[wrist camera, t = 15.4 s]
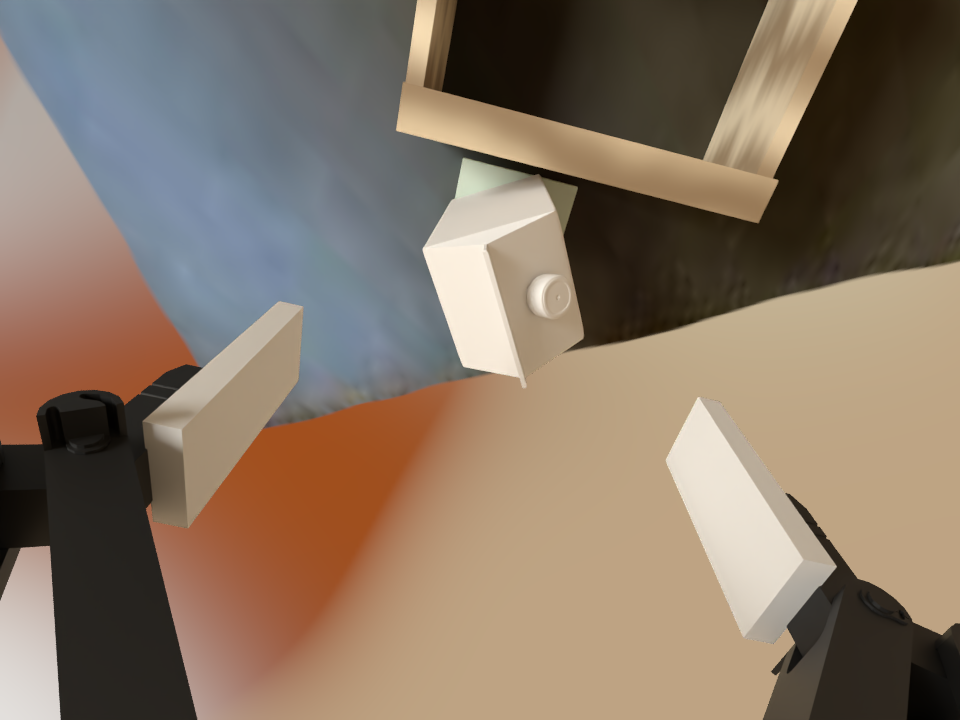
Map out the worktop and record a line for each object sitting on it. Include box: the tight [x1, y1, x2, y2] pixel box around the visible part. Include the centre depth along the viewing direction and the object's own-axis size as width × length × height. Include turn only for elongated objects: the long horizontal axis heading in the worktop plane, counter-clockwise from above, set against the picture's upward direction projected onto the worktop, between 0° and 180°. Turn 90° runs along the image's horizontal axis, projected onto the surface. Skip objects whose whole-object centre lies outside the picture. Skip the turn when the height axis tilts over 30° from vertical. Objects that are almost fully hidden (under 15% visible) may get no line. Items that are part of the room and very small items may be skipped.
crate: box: [396, 0, 858, 223], centre depth 30 cm, size 18×22×10 cm
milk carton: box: [423, 174, 584, 388], centre depth 32 cm, size 7×7×19 cm
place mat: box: [455, 157, 578, 235], centre depth 40 cm, size 9×9×1 cm
